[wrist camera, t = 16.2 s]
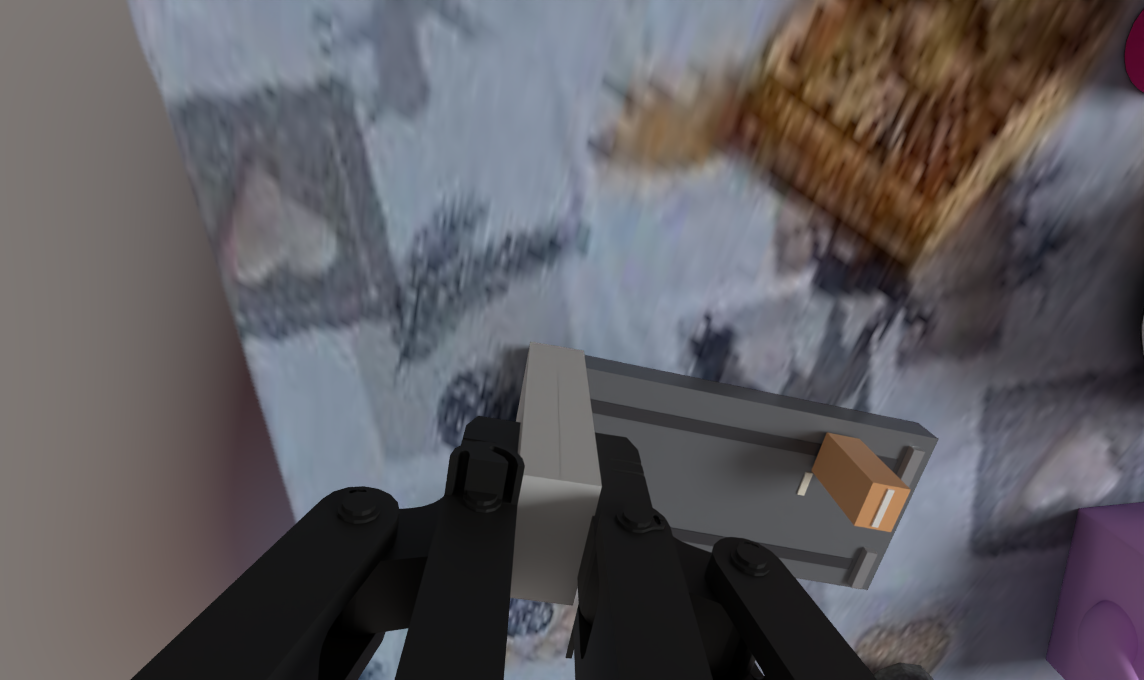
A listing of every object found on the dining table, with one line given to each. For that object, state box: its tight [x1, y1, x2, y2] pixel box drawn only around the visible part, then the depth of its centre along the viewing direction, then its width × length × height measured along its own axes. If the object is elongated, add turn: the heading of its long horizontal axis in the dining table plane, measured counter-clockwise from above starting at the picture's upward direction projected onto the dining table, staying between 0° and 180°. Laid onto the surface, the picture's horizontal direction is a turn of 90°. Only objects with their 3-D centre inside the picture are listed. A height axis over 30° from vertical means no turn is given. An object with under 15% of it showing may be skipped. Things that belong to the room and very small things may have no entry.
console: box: [584, 355, 938, 590], centre depth 44 cm, size 13×28×3 cm, turn 77°
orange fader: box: [811, 432, 911, 532], centre depth 39 cm, size 3×2×6 cm
